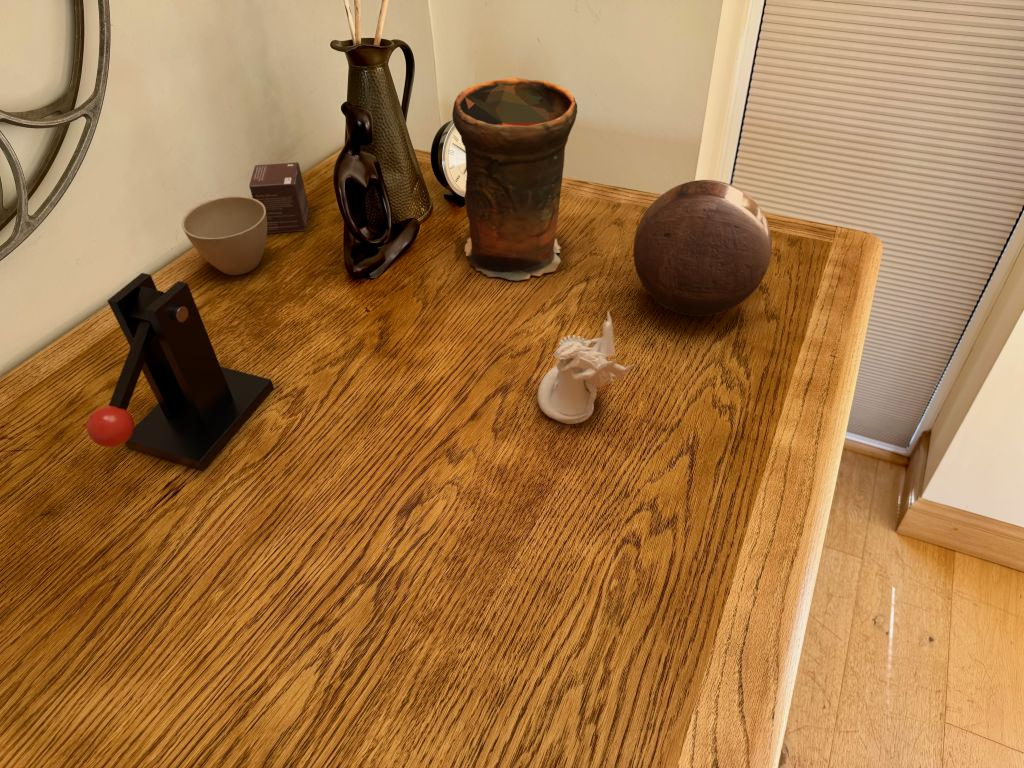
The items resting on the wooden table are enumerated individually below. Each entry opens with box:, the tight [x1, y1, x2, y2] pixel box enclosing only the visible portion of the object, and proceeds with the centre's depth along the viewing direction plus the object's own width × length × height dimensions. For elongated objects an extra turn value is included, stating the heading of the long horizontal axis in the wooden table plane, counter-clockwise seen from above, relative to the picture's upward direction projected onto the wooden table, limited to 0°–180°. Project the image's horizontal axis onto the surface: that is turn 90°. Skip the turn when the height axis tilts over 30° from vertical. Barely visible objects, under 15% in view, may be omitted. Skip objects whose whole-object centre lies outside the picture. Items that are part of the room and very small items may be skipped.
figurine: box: [537, 310, 636, 425], centre depth 69 cm, size 11×8×12 cm
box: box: [248, 162, 310, 234], centre depth 99 cm, size 6×6×7 cm
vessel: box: [451, 77, 578, 281], centre depth 89 cm, size 14×14×20 cm
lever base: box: [106, 272, 275, 471], centre depth 69 cm, size 12×9×16 cm
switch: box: [86, 287, 165, 448], centre depth 64 cm, size 14×4×4 cm
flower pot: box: [181, 195, 268, 276], centre depth 92 cm, size 10×10×7 cm
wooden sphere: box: [632, 179, 773, 317], centre depth 81 cm, size 15×15×15 cm
